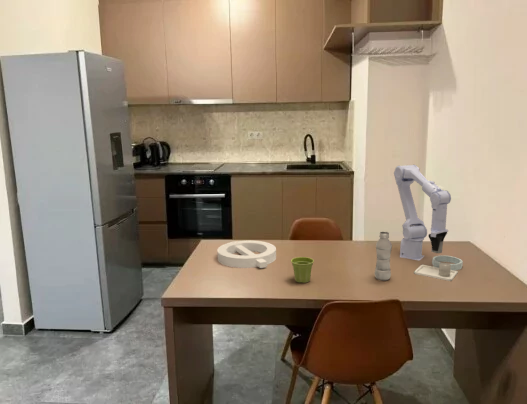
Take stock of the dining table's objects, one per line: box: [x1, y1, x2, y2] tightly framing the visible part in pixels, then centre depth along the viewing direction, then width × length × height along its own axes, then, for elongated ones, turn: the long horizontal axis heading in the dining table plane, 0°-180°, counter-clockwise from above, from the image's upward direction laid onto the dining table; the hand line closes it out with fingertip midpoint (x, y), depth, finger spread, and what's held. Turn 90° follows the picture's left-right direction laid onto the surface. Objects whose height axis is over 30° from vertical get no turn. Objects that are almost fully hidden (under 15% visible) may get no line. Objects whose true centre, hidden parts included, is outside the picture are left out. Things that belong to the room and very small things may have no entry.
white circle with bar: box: [216, 239, 277, 269], centre depth 211 cm, size 28×28×5 cm
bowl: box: [431, 254, 464, 271], centre depth 194 cm, size 12×12×3 cm
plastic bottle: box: [374, 231, 393, 282], centre depth 179 cm, size 6×7×20 cm
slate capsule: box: [431, 240, 444, 254], centre depth 191 cm, size 4×4×5 cm
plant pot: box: [290, 256, 315, 284], centre depth 181 cm, size 9×9×9 cm
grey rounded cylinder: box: [439, 262, 451, 277], centre depth 183 cm, size 4×4×5 cm
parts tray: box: [413, 264, 459, 282], centre depth 186 cm, size 15×11×1 cm
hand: (436, 249), depth 191 cm, fingers closed on slate capsule, 4 cm apart
